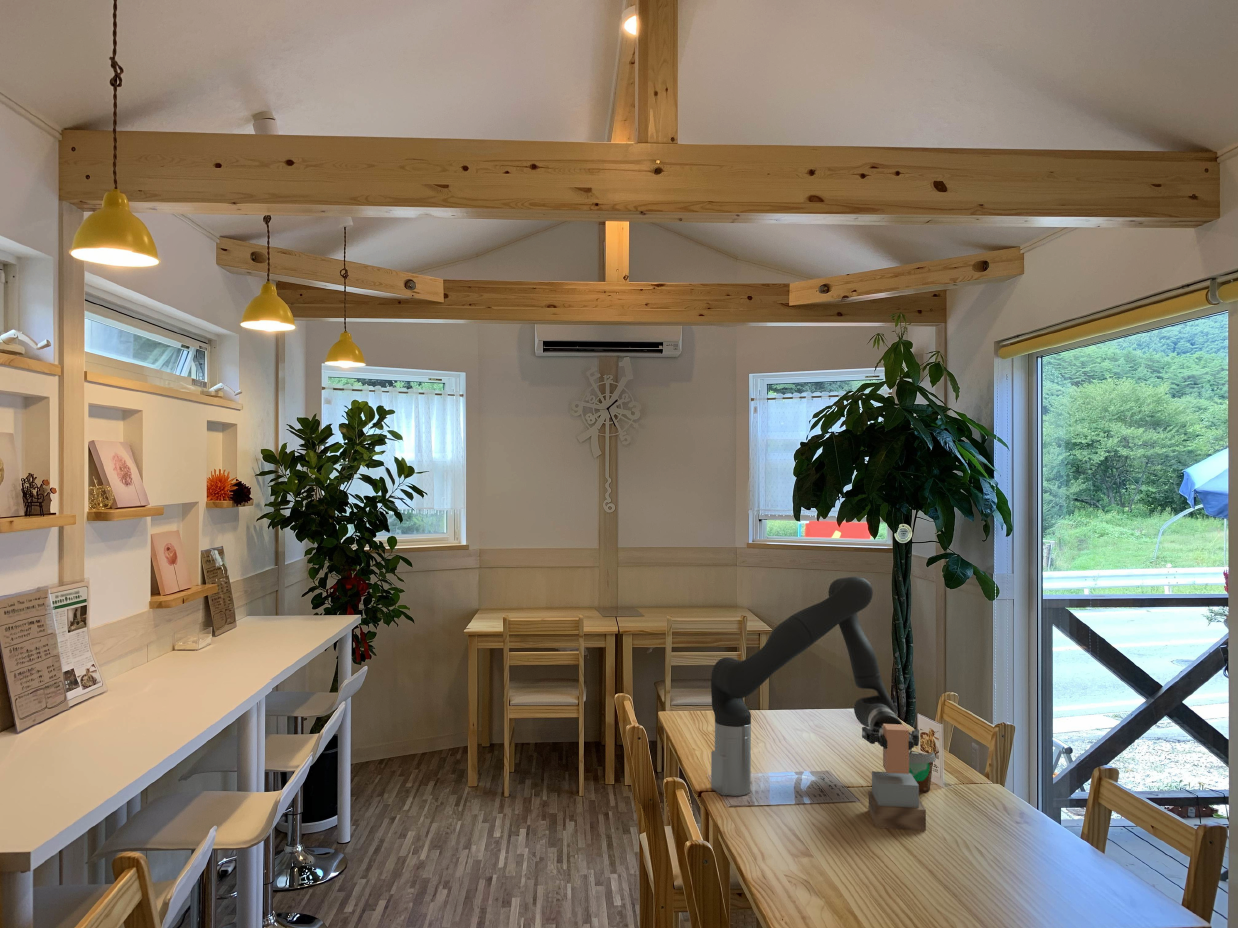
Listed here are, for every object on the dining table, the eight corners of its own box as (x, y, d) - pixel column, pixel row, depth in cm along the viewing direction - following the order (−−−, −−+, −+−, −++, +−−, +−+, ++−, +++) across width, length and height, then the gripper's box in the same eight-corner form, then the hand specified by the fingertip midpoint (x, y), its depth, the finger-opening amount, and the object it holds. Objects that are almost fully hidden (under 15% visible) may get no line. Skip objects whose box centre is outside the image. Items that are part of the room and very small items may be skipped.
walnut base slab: (875, 828, 196) (875, 806, 197) (868, 811, 207) (868, 790, 207) (925, 832, 195) (925, 809, 195) (915, 814, 206) (915, 793, 206)
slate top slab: (878, 805, 197) (878, 783, 198) (871, 792, 206) (871, 771, 207) (918, 807, 196) (918, 785, 196) (910, 794, 205) (910, 772, 205)
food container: (882, 789, 222) (882, 750, 222) (886, 782, 227) (886, 744, 228) (932, 797, 216) (932, 757, 217) (936, 790, 222) (935, 751, 222)
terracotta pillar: (886, 772, 200) (886, 729, 200) (883, 765, 205) (883, 723, 205) (909, 773, 199) (909, 730, 200) (904, 766, 204) (904, 724, 205)
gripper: (855, 709, 218) (866, 727, 201) (914, 711, 216) (930, 730, 199) (855, 739, 217) (866, 759, 200) (914, 741, 215) (930, 762, 198)
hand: (898, 744), depth 200 cm, fingers closed on terracotta pillar, 5 cm apart
